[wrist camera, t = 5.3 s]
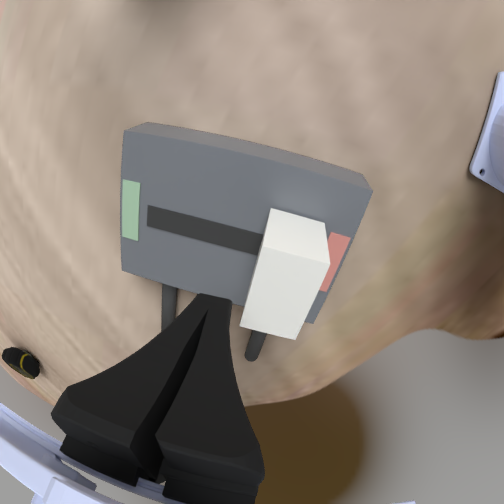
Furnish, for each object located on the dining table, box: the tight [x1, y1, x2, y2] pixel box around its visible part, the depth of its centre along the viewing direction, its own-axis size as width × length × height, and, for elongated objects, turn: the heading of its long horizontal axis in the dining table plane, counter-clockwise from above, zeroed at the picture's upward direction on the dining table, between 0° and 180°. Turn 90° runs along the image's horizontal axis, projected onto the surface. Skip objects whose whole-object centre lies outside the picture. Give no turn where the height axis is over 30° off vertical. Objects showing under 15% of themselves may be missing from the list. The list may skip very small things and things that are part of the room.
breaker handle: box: [240, 208, 330, 340], centre depth 16 cm, size 3×5×4 cm, turn 168°
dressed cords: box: [161, 283, 267, 362], centre depth 24 cm, size 9×9×1 cm
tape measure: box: [2, 347, 40, 379], centre depth 37 cm, size 7×7×4 cm
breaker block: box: [120, 122, 373, 324], centre depth 19 cm, size 14×10×3 cm
